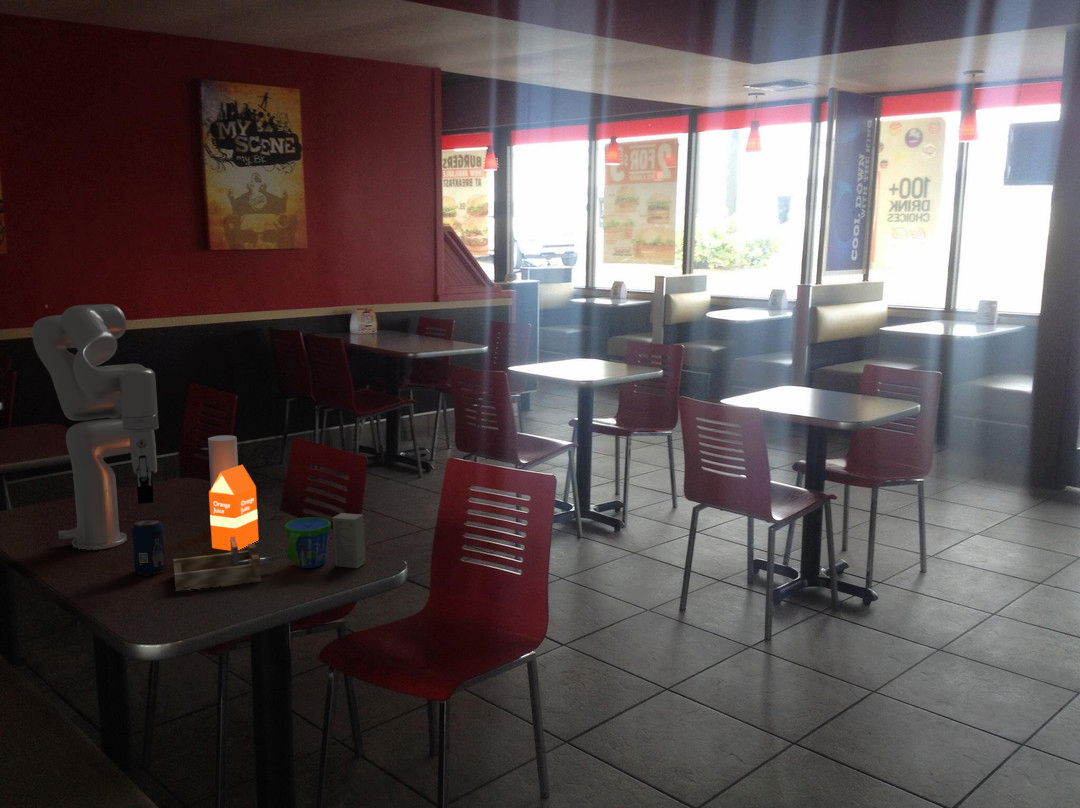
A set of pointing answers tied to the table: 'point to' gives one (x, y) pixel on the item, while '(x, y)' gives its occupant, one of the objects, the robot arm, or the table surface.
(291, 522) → the snack cup
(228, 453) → the cylindrical container
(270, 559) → the follower
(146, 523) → the soda can
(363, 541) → the skincare box
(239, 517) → the orange juice
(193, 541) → the table surface
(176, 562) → the wooden tray
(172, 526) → the table surface
